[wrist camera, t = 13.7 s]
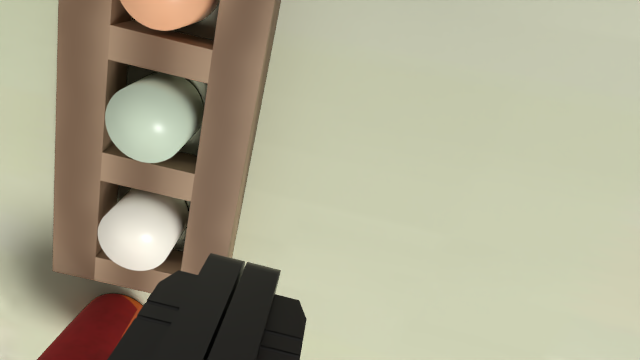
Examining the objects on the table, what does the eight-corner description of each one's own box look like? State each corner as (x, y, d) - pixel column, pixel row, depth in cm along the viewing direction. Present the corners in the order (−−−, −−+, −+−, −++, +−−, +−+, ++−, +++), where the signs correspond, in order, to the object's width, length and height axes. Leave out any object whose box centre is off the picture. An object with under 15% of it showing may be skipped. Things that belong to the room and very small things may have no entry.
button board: (296, -84, 29) (291, -90, 26) (226, 284, 39) (217, 308, 36) (90, -137, 28) (62, -149, 25) (74, 249, 38) (52, 271, 35)
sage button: (208, 81, 32) (190, 95, 29) (198, 149, 34) (180, 171, 30) (135, 64, 32) (107, 76, 28) (129, 133, 34) (102, 152, 30)
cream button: (192, 190, 35) (174, 216, 32) (184, 247, 37) (166, 277, 33) (125, 175, 35) (99, 199, 31) (121, 232, 37) (95, 261, 33)
